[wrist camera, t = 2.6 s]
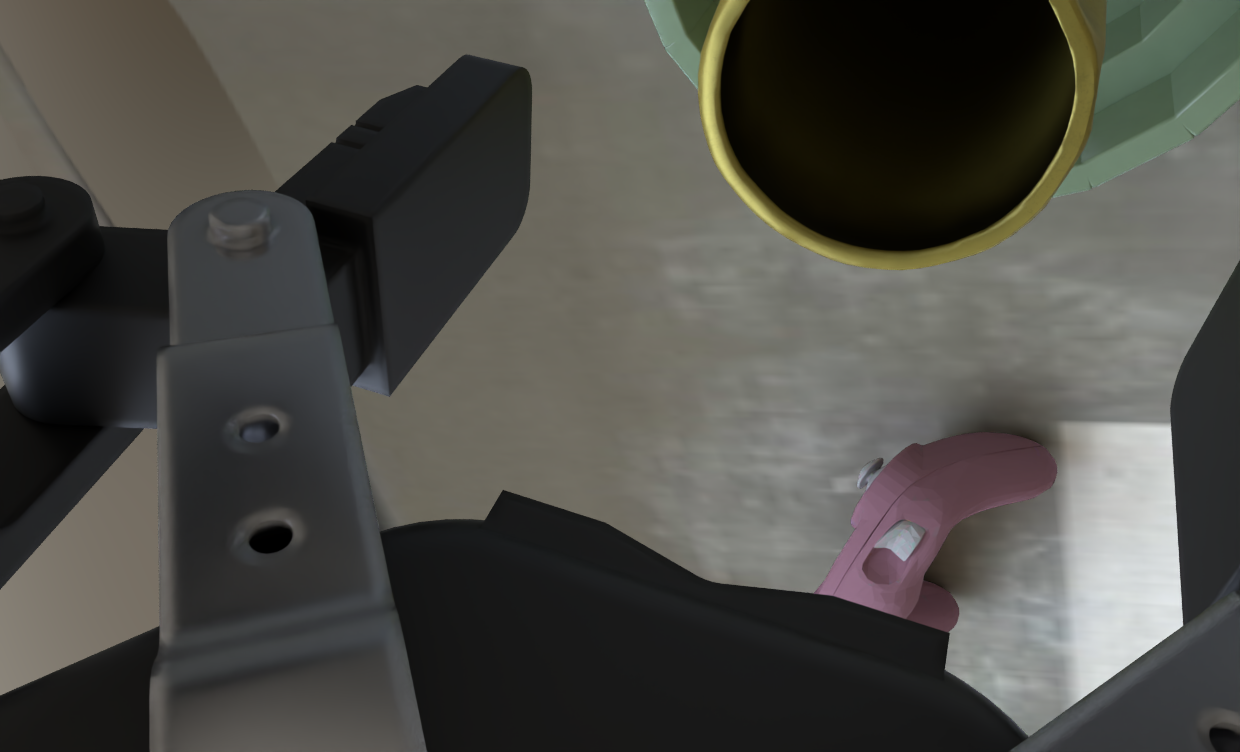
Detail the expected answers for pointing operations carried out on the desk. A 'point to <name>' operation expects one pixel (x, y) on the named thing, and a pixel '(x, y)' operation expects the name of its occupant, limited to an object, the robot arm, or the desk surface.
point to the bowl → (1128, 86)
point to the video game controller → (928, 518)
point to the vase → (899, 118)
